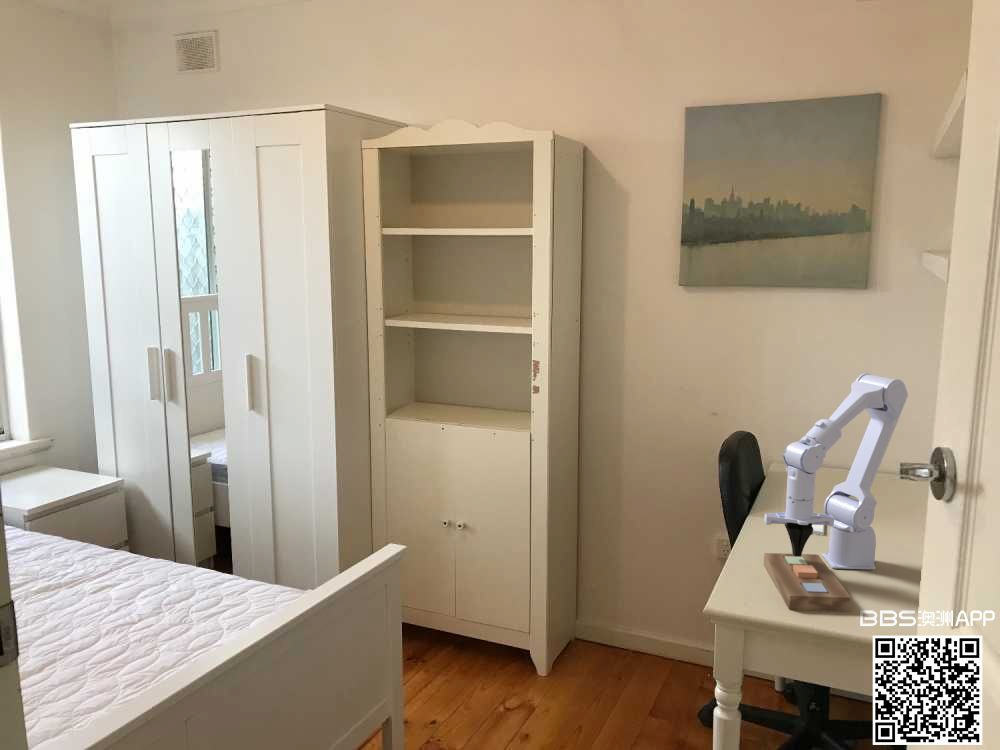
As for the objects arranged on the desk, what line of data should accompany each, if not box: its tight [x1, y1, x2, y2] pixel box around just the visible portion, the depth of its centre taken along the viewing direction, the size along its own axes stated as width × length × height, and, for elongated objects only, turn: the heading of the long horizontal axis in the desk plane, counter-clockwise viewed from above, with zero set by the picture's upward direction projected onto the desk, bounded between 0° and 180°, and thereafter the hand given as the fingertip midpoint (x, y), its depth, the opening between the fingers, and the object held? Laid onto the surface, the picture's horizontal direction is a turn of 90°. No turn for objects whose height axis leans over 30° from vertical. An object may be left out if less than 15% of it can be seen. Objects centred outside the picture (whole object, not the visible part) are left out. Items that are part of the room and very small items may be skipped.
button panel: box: [763, 552, 852, 613], centre depth 175 cm, size 12×22×3 cm, turn 175°
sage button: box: [784, 556, 808, 565], centre depth 181 cm, size 4×4×2 cm
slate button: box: [802, 583, 828, 593], centre depth 168 cm, size 4×4×2 cm
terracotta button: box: [793, 565, 818, 579], centre depth 174 cm, size 4×4×2 cm
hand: (796, 554), depth 181 cm, fingers closed
